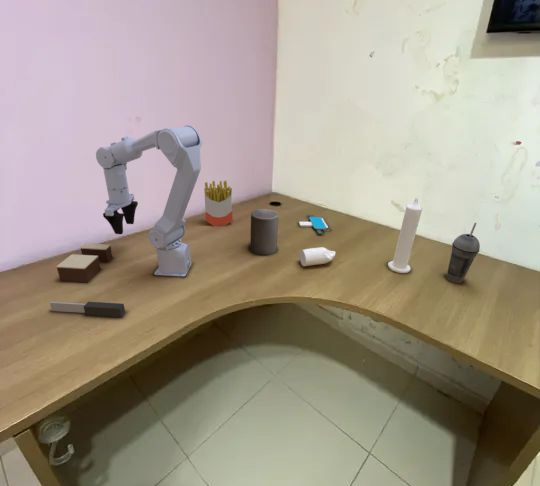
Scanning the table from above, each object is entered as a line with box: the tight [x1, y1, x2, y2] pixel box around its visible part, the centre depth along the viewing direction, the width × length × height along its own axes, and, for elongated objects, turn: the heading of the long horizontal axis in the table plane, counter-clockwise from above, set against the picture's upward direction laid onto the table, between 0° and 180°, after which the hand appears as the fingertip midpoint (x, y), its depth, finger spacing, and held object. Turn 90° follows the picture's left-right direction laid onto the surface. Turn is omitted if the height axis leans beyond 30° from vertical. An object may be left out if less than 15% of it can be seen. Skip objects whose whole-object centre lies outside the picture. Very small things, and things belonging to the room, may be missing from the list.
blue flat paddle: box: [298, 214, 331, 236], centre depth 133 cm, size 20×12×2 cm, turn 5°
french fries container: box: [204, 180, 233, 227], centre depth 127 cm, size 5×11×18 cm, turn 101°
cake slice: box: [79, 242, 114, 264], centre depth 99 cm, size 8×3×5 cm, turn 88°
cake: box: [55, 253, 102, 284], centre depth 91 cm, size 8×7×5 cm
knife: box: [49, 301, 126, 319], centre depth 77 cm, size 18×2×3 cm, turn 88°
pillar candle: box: [249, 208, 280, 256], centre depth 109 cm, size 10×10×15 cm
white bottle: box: [298, 246, 336, 267], centre depth 103 cm, size 6×12×6 cm, turn 105°
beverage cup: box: [446, 222, 481, 284], centre depth 95 cm, size 7×7×20 cm
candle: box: [387, 196, 423, 274], centre depth 98 cm, size 7×7×25 cm
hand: (124, 228), depth 98 cm, fingers open, 7 cm apart
